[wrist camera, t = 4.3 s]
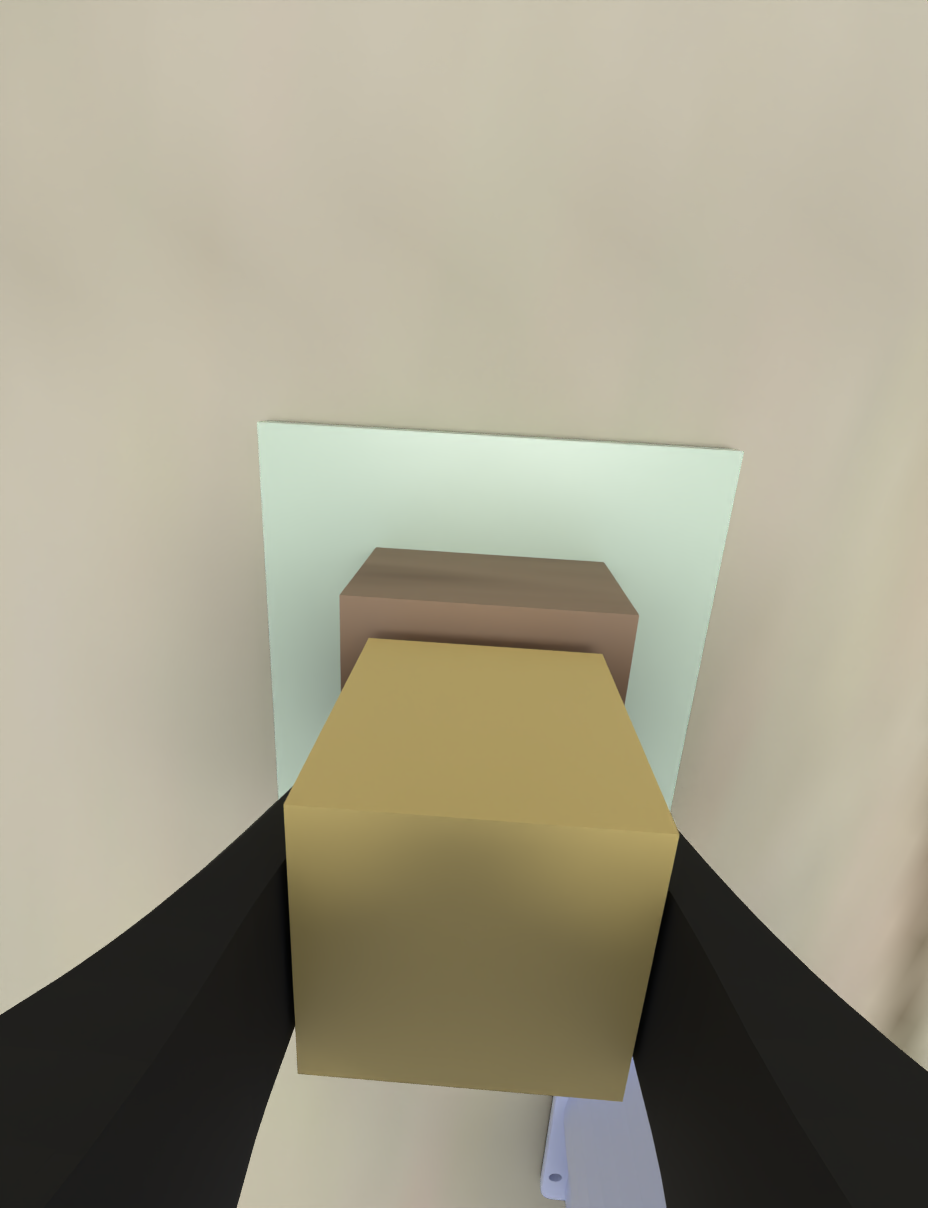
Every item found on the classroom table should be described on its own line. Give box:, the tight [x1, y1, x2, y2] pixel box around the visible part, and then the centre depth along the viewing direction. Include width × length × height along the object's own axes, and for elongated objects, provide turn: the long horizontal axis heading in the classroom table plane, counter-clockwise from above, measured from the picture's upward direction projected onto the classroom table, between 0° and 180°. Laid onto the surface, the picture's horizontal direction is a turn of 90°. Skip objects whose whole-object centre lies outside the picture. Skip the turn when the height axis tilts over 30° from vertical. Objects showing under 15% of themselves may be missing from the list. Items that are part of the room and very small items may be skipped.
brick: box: [284, 638, 680, 1102], centre depth 10 cm, size 4×4×5 cm
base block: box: [339, 547, 639, 706], centre depth 15 cm, size 6×6×4 cm
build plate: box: [257, 421, 744, 811], centre depth 17 cm, size 12×12×1 cm
